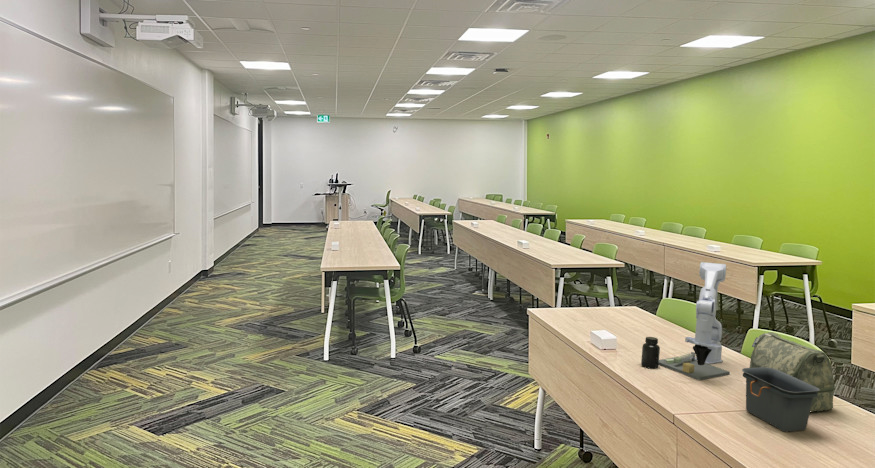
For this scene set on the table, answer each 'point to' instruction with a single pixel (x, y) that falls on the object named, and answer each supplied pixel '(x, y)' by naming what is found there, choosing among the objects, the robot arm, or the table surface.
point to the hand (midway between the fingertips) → (700, 364)
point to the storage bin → (778, 398)
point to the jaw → (683, 358)
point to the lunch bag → (796, 365)
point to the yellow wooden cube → (688, 367)
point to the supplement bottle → (650, 353)
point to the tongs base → (699, 370)
